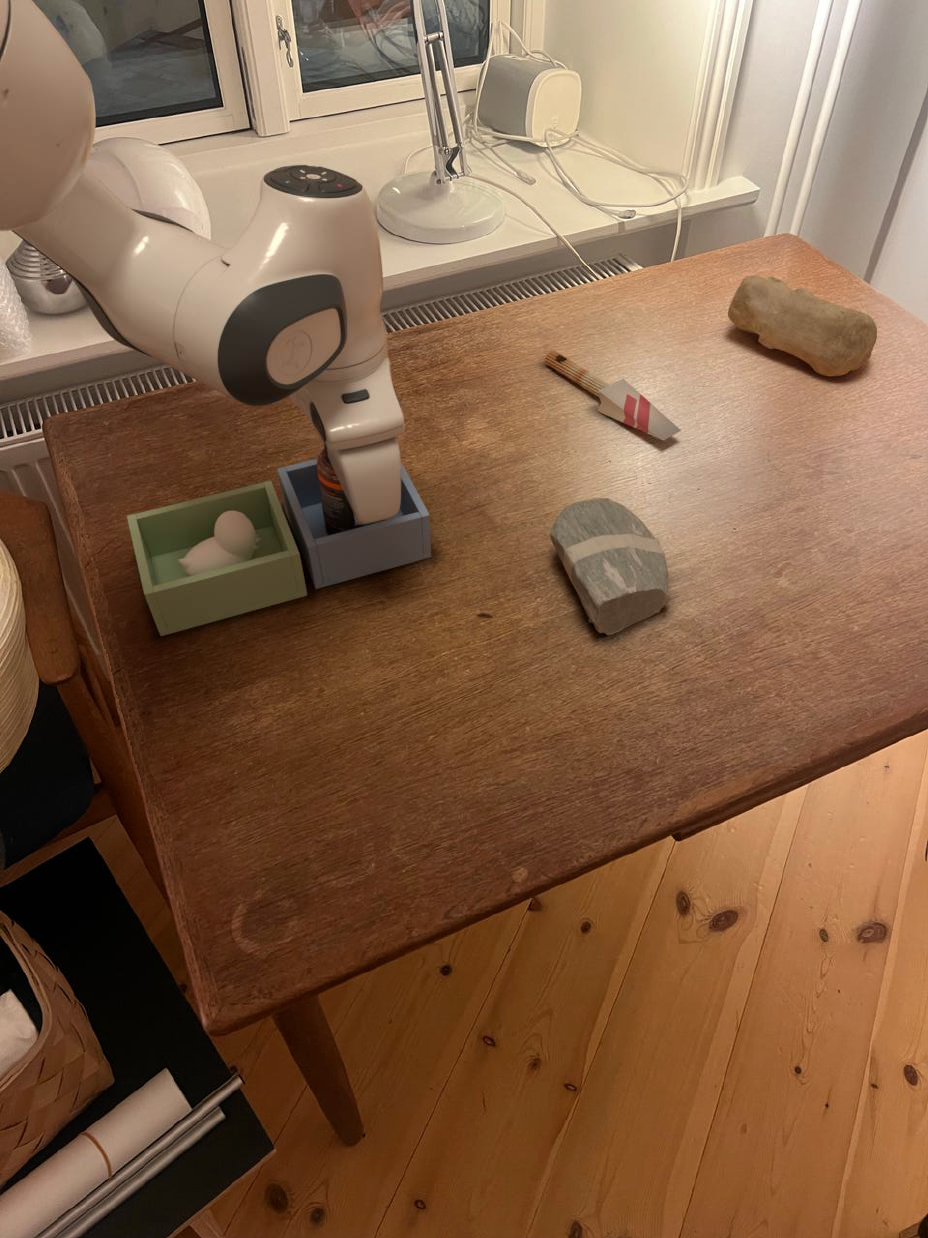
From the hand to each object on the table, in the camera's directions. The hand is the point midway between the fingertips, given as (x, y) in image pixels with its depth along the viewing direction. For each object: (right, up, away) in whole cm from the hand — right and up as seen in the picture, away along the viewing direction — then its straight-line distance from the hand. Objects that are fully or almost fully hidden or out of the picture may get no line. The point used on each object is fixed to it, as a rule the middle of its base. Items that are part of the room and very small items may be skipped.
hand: (351, 494), depth 87 cm
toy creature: (-12, -7, 0) cm, 14 cm away
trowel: (+27, +13, +18) cm, 35 cm away
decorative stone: (+24, -9, 0) cm, 26 cm away
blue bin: (0, -3, +4) cm, 5 cm away
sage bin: (-12, -8, 0) cm, 15 cm away
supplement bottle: (0, -3, +4) cm, 5 cm away
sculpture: (+51, +21, +25) cm, 60 cm away
